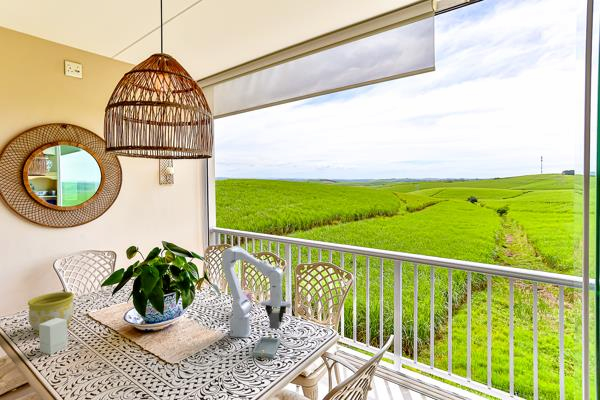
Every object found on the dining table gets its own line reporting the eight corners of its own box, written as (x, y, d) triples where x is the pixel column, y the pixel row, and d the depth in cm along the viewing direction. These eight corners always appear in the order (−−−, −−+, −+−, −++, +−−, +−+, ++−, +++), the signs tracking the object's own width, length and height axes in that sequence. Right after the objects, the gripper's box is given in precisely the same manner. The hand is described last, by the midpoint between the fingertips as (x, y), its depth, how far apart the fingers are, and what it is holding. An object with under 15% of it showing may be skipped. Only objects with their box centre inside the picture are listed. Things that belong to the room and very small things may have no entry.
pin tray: (251, 357, 126) (251, 349, 126) (261, 339, 141) (261, 332, 141) (272, 359, 125) (272, 351, 125) (280, 341, 140) (280, 334, 140)
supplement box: (68, 346, 134) (67, 319, 134) (50, 355, 127) (49, 326, 127) (57, 343, 137) (56, 317, 136) (39, 351, 130) (38, 324, 129)
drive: (269, 328, 138) (269, 313, 138) (273, 320, 146) (273, 306, 146) (278, 329, 138) (278, 314, 137) (282, 321, 146) (282, 307, 145)
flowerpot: (27, 341, 138) (27, 307, 137) (29, 328, 152) (28, 297, 151) (75, 330, 150) (75, 298, 149) (73, 318, 163) (72, 289, 163)
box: (244, 316, 167) (244, 296, 166) (235, 315, 168) (235, 295, 167) (251, 309, 177) (251, 290, 176) (242, 308, 178) (242, 289, 178)
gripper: (259, 295, 138) (259, 323, 139) (289, 297, 136) (289, 325, 137) (263, 290, 145) (263, 317, 146) (291, 292, 143) (291, 319, 144)
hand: (275, 321), depth 142 cm, fingers closed on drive, 4 cm apart
